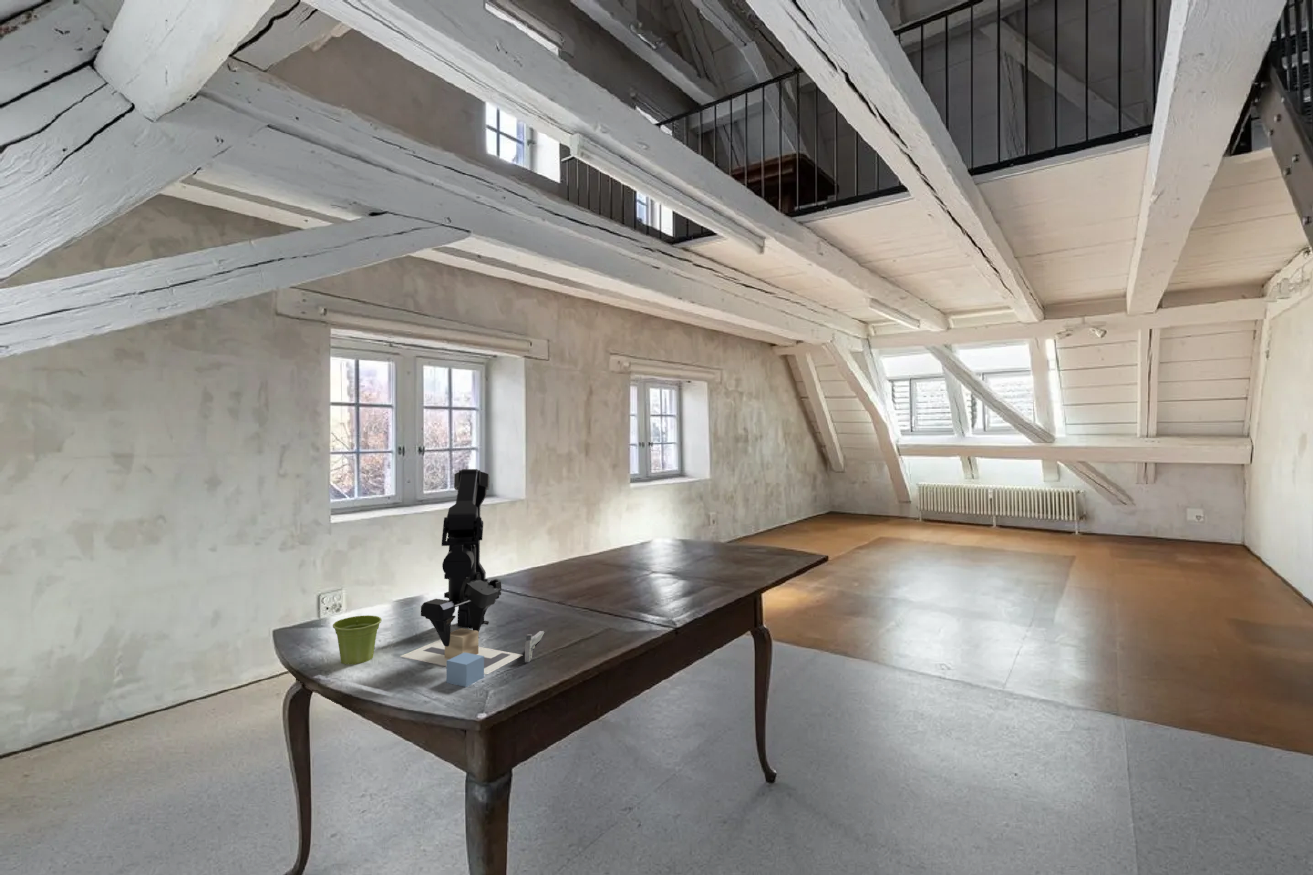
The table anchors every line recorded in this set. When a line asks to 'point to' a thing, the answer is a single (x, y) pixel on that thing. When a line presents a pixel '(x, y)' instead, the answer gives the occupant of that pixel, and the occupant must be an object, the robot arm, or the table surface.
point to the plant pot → (357, 638)
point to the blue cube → (465, 669)
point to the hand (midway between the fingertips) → (461, 639)
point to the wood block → (462, 642)
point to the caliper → (531, 644)
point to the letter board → (437, 656)
